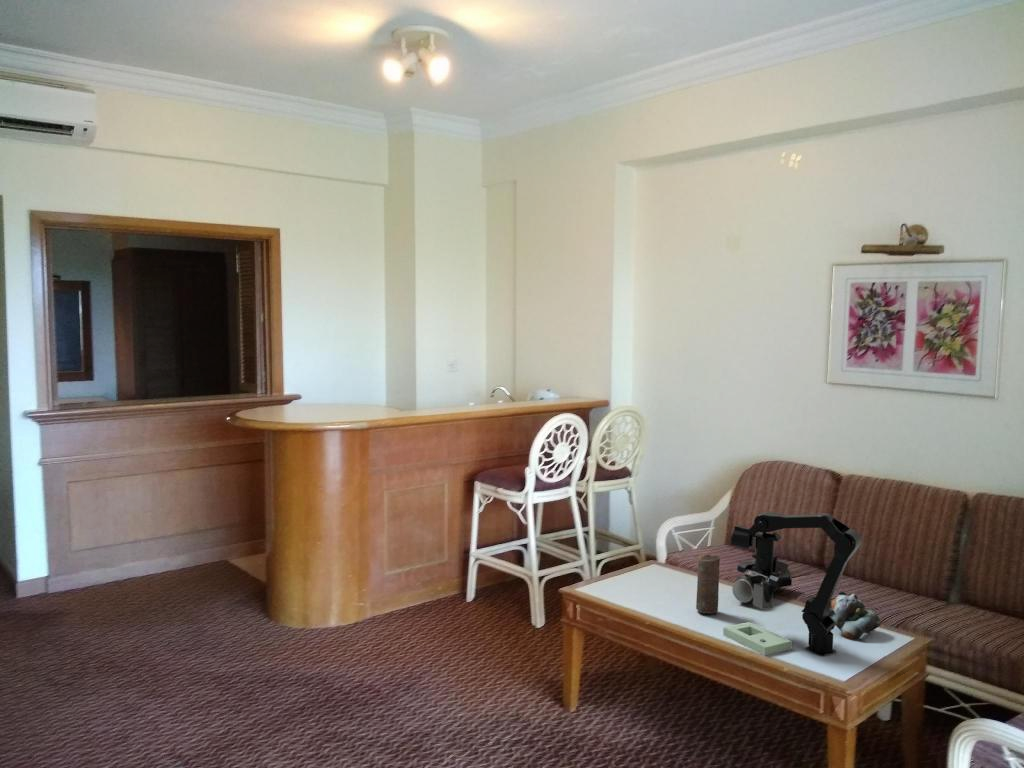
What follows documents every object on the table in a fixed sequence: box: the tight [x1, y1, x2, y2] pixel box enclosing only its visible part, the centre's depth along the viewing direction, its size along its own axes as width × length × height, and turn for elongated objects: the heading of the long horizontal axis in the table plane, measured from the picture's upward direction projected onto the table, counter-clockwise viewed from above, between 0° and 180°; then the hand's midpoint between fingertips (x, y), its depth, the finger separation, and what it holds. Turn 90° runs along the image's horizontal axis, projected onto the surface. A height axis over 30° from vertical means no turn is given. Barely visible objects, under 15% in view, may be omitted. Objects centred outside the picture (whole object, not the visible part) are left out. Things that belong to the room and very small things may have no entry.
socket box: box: [722, 621, 793, 656], centre depth 251 cm, size 18×11×3 cm, turn 27°
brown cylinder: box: [695, 553, 721, 615], centre depth 276 cm, size 8×7×20 cm
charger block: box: [752, 582, 774, 610], centre depth 255 cm, size 4×4×7 cm
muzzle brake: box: [731, 568, 792, 604], centre depth 293 cm, size 10×28×10 cm, turn 135°
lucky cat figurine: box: [829, 590, 883, 641], centre depth 260 cm, size 15×12×14 cm
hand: (762, 600), depth 255 cm, fingers closed on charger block, 4 cm apart
